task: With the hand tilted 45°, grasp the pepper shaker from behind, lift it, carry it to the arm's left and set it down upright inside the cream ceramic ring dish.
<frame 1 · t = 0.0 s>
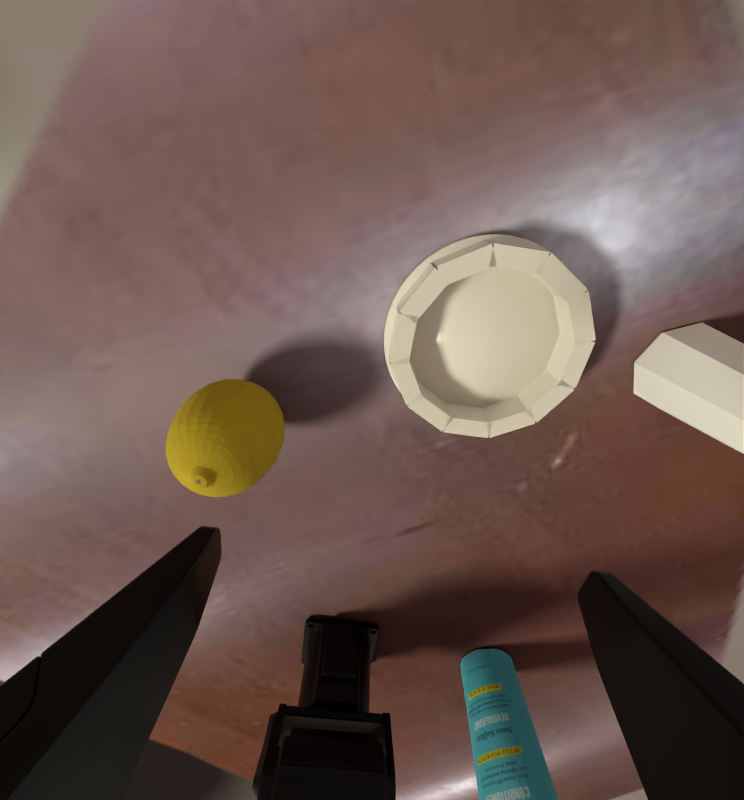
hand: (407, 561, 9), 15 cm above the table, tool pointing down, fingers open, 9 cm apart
tube: (483, 658, 36), on the table
lemon: (253, 398, 24), on the table
ring dish: (479, 338, 22), on the table
pepper shaker: (674, 365, 22), on the table
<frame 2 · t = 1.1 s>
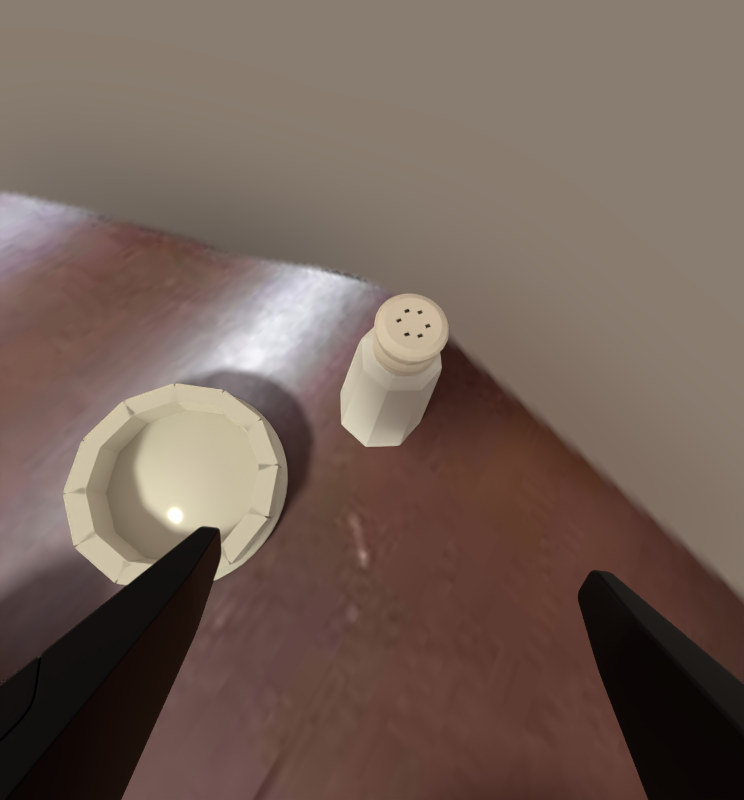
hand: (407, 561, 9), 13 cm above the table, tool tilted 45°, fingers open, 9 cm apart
ring dish: (191, 482, 22), on the table
pepper shaker: (379, 409, 24), on the table
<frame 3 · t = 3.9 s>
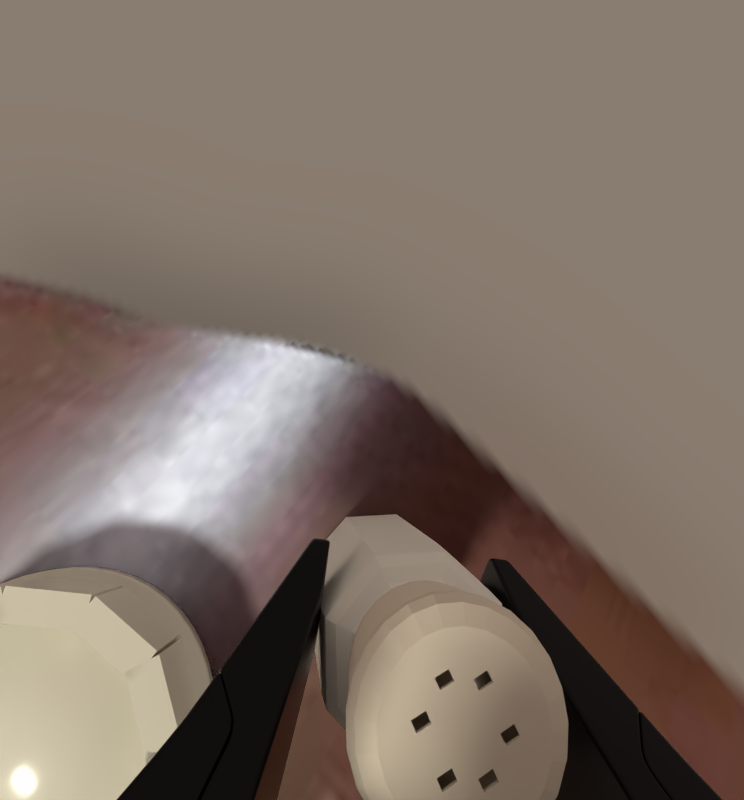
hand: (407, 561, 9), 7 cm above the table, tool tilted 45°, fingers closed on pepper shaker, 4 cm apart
ring dish: (43, 747, 12), on the table
pepper shaker: (373, 581, 15), on the table, touching gripper
when the fingers open (8 cm above the table, at t = 6.9 s): pepper shaker drops 1 cm, resting on ring dish.
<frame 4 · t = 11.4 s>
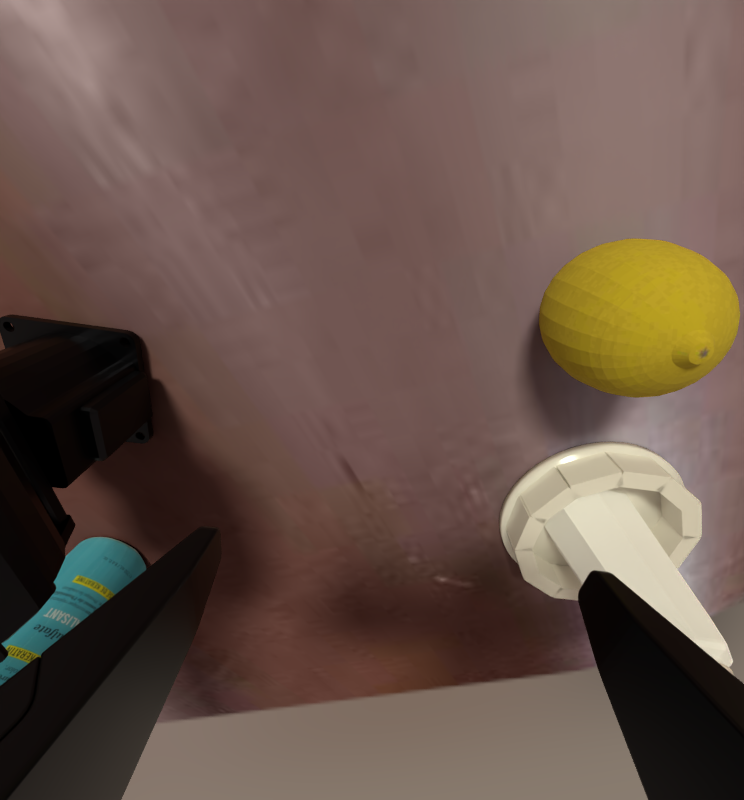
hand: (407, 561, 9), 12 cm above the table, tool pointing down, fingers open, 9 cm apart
tube: (114, 556, 27), on the table
lemon: (571, 294, 18), on the table
ring dish: (586, 513, 24), on the table
pepper shaker: (586, 517, 24), resting on ring dish
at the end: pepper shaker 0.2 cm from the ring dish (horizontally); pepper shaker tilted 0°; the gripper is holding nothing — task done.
